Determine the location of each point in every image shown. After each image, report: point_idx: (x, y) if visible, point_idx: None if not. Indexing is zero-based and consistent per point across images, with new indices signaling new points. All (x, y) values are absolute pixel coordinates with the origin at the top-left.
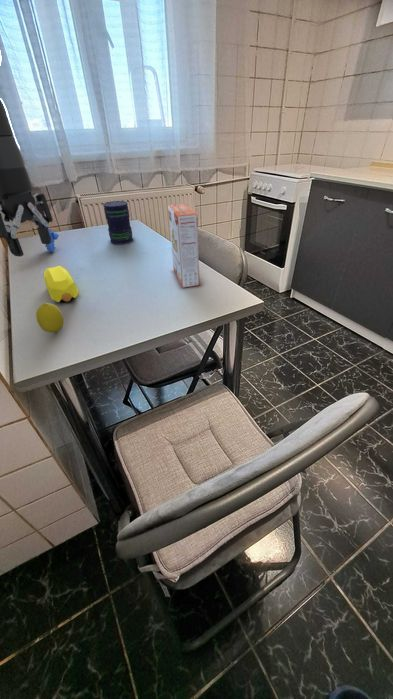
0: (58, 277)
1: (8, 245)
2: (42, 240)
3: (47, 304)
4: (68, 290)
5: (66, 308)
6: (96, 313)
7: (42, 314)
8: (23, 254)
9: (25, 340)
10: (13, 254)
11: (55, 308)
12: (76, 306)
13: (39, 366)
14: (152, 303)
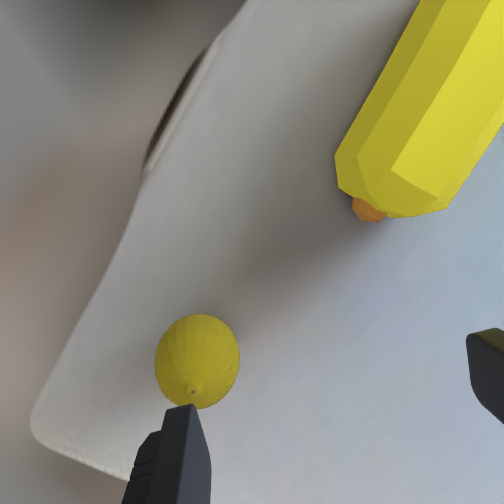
0: (436, 141)
1: (126, 497)
2: (485, 358)
3: (199, 394)
4: (393, 213)
5: (327, 232)
6: (349, 348)
7: (164, 393)
8: (210, 466)
9: (124, 290)
10: (166, 411)
11: (214, 403)
12: (354, 251)
13: (79, 427)
14: (475, 447)
